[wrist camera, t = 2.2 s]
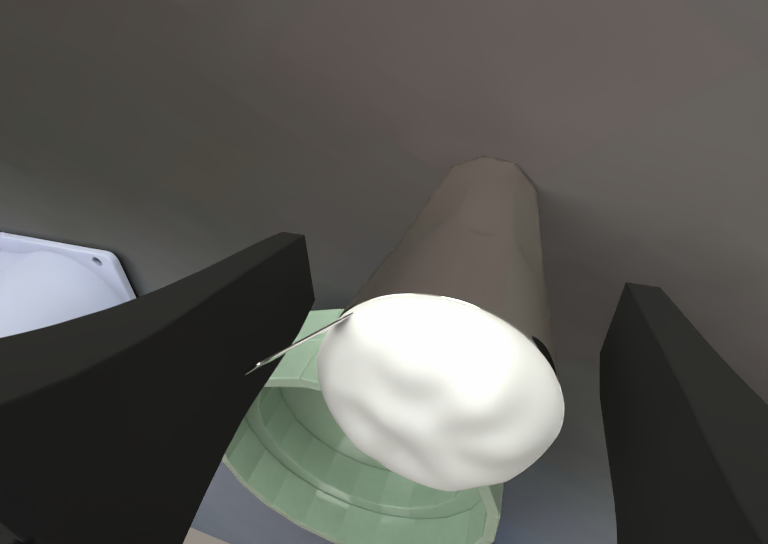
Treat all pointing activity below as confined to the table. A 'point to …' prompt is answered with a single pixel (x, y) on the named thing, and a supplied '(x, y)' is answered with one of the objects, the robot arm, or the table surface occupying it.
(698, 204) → the table surface
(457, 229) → the milkshake
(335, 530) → the bowl
